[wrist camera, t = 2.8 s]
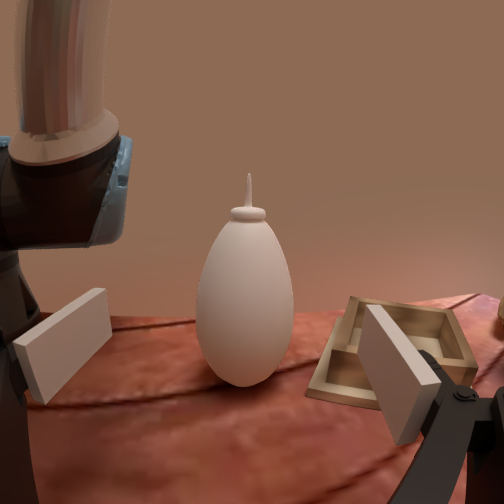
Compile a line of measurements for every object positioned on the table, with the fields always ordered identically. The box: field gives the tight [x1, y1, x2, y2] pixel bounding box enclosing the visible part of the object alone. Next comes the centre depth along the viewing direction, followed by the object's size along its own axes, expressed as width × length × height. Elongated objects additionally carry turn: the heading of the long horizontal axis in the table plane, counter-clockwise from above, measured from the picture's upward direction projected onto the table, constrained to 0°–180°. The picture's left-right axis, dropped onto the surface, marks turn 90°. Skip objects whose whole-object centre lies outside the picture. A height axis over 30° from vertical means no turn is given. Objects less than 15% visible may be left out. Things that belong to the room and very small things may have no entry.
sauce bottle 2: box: [196, 173, 294, 387], centre depth 24 cm, size 8×8×18 cm
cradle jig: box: [306, 296, 478, 410], centre depth 27 cm, size 16×16×4 cm
